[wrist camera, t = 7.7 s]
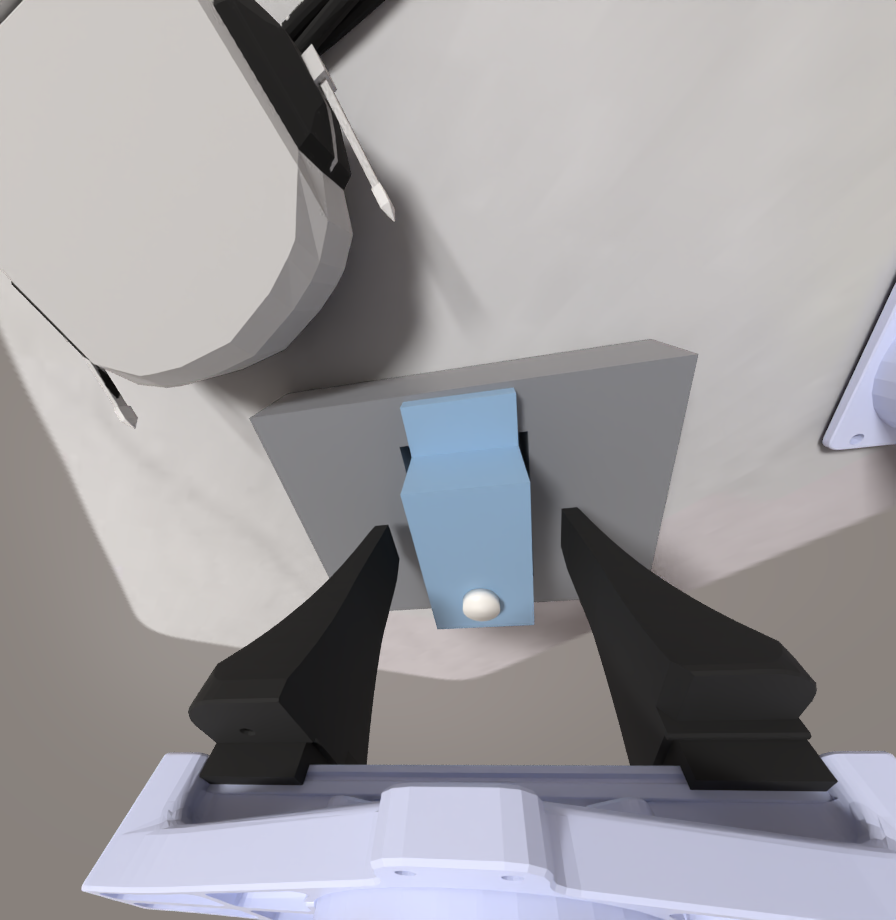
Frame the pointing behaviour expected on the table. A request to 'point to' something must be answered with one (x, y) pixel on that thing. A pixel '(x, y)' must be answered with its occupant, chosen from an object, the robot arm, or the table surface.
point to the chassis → (539, 439)
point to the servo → (470, 508)
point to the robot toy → (170, 183)
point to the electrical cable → (325, 21)
